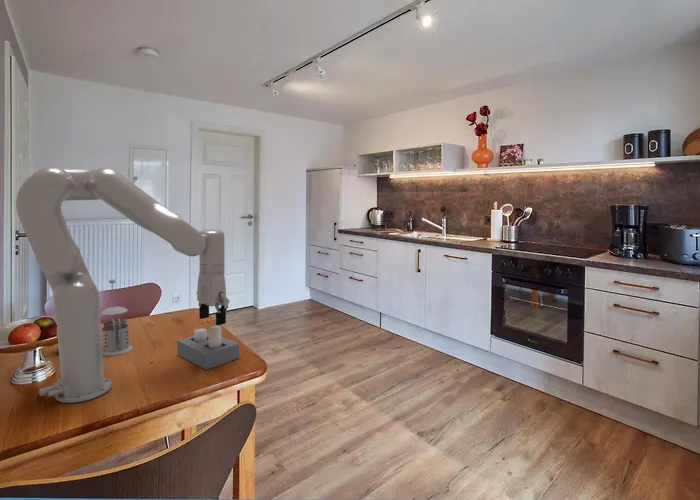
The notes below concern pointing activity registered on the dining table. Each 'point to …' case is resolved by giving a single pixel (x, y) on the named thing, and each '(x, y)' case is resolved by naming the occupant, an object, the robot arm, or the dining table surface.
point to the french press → (115, 331)
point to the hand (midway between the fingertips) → (212, 321)
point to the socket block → (206, 350)
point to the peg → (214, 337)
